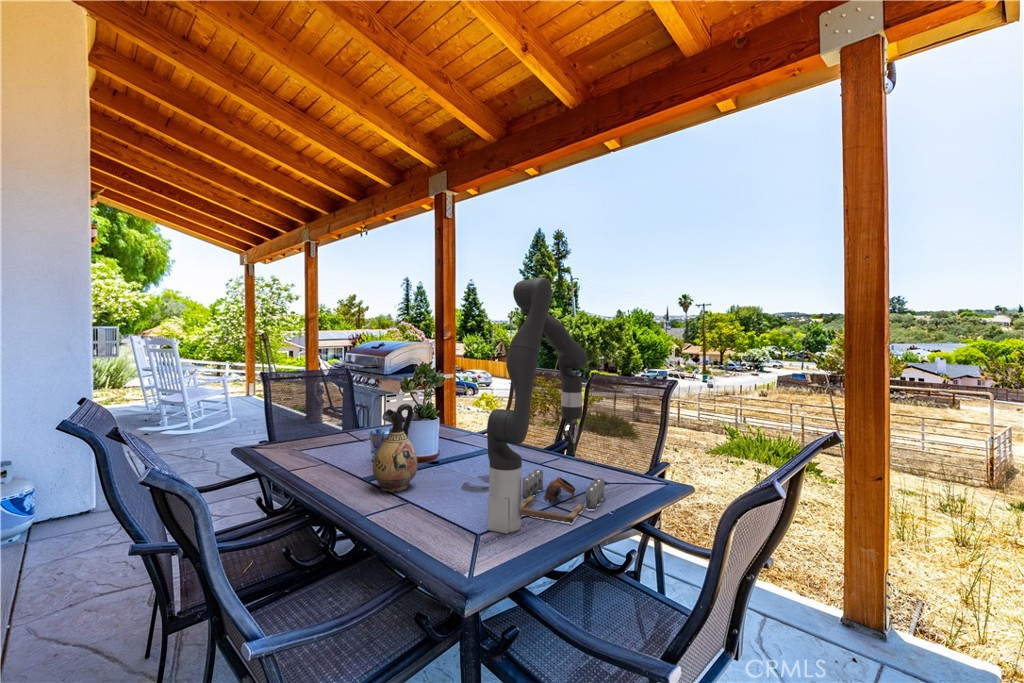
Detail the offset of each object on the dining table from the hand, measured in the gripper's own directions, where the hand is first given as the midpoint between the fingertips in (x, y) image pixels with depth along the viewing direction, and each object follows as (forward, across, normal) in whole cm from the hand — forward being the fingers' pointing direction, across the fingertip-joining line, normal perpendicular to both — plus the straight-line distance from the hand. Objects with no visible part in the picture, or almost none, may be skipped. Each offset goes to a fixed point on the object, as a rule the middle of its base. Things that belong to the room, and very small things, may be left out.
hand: (571, 453), depth 158 cm
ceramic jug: (+14, -25, +57) cm, 64 cm away
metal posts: (+14, -9, 0) cm, 16 cm away
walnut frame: (+13, -22, 0) cm, 26 cm away
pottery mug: (+14, -10, +1) cm, 17 cm away
